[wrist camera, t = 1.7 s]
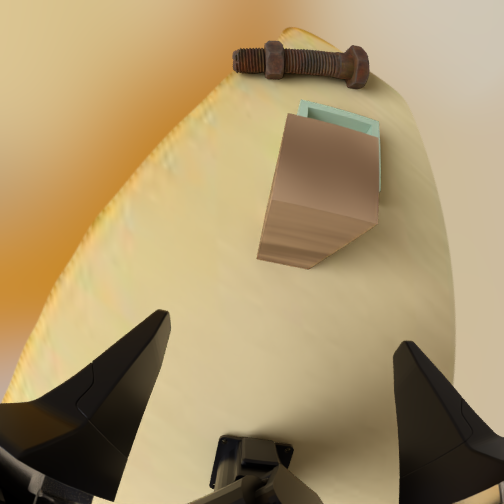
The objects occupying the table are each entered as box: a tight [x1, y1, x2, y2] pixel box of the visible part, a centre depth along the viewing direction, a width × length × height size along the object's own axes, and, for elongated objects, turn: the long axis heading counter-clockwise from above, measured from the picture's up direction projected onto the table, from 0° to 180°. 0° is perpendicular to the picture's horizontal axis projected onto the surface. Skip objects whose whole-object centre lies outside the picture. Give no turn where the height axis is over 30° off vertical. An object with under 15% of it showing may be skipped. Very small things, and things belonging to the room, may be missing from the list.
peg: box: [257, 113, 379, 269], centre depth 17 cm, size 4×4×13 cm
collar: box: [297, 100, 381, 193], centre depth 24 cm, size 8×8×3 cm
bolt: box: [233, 41, 369, 89], centre depth 26 cm, size 6×5×15 cm
